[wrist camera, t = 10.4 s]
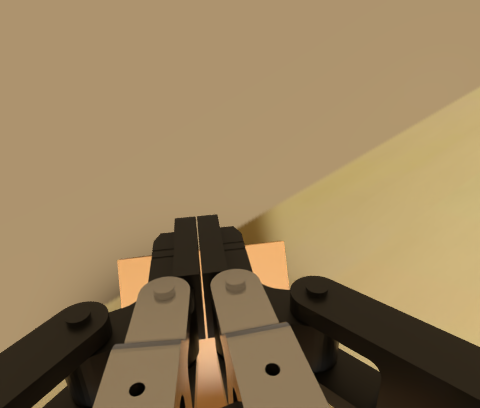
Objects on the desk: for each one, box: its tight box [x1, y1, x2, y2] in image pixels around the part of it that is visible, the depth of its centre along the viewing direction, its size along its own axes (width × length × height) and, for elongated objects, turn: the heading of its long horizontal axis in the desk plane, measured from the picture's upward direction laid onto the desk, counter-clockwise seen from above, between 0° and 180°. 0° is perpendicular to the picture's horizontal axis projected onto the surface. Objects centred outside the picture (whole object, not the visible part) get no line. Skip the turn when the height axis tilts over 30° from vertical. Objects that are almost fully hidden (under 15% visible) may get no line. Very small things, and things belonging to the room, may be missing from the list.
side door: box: [117, 241, 289, 408], centre depth 25 cm, size 11×2×15 cm
